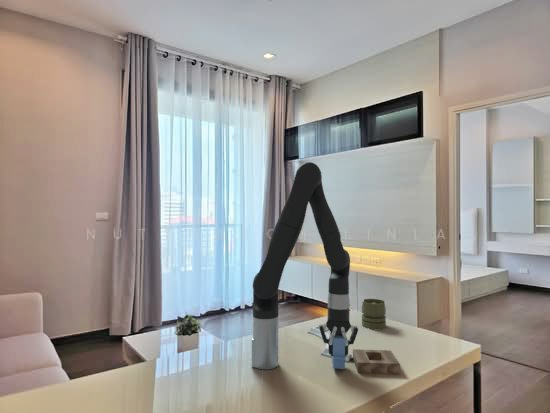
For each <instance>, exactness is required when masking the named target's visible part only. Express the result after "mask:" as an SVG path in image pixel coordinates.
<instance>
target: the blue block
mask: <svg viewBox="0 0 550 413" xmlns="http://www.w3.org/2000/svg"><path fill="white" fill-rule="evenodd" d="M332 344H333V356H332V358H331V364H332V369H340V370H342V369H343V370H345V369H346V362H345V360H346V358H345V338H343V336H339V335H338V336H335V337H333V343H332Z"/></svg>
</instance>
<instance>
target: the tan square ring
mask: <svg viewBox="0 0 550 413" xmlns="http://www.w3.org/2000/svg"><path fill="white" fill-rule="evenodd" d="M352 355H353V359H352V360H353V363H354V366H355V370H356V372H357V373H358V374H374V375H375V374H378V375H401V363H400V361H398V359H397V357H396V356H395V354H394V353H393V351H392V350H386V349H385V350H383V349H355V348H354V349H352Z"/></svg>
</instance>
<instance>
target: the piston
mask: <svg viewBox="0 0 550 413" xmlns="http://www.w3.org/2000/svg"><path fill="white" fill-rule="evenodd" d="M361 304H362V305H361V327H363V328H364V329H368V328H369V330H375V329H379V330H384V329H386V328H387V321H386V318H387V317H386V314H387V313H386V312H387V311H386V309H387V308H386V303H385V300H382V299H378V298H364V299H363V301H362V303H361Z"/></svg>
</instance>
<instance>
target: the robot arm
mask: <svg viewBox="0 0 550 413" xmlns="http://www.w3.org/2000/svg"><path fill="white" fill-rule="evenodd" d="M322 177H323V176H322V170H321V169H320V167H319V166H318V165H317V164H316V163H314V162H309V161H308V162H305V163H302V164H301V165H300V166H299V167H298V168H297V170H296V172H295V175H294V179H293V183H292V187H291V189H290V192H289V194H288V197H287V199H286V201H285V204H284V205H283V207H282V210H281V211H280V214H279V217H278V219H277V222H276V224H275V225H274V228H273V231H272V234H271V237H270V241H269V245H268V249H267V253H266V256H265V258H264V261H263V264H262V265H261V267H260V269H259V271H258V272H257V273H256V274H255V276H254V277H253V282H252V294H253V296H252V297H253V299H252V300H253V301H252V338H251V367H252V368H256V369H259V370H272V369H275V368H277V367H278V366H279V288H280V284H281V283H280V282H281V279H282V276H283V272H284V269H285V266H286V264H287V262H288V260H289V257H290V256H291V255H292V252H293V251H294V248H295V246H296V243H297V241H298V239H299V237H300V234H301V233H302V232H301V231H302V228H303V226H304V222H305V219H306V213H307V209H308V205H310V208H311V211H312V215H313V218H314V223H315V225H316V228H317V231H318V234H319V237H320V239H321V242H322V246H323V251H324V255H325V259H326V261H327V263H328V265H329V267H330V275H329V279H328V294H327V295H328V297H327V321H326V323H325V324H324V325H321V324H322V323H320V324H318V325H319V329H320V332H321V335H322V338H323V340H322V341H323V343H324V344H326V343H327V344H328V345H329V354H331V356H333V344H332V343H333V337H335V336H338V335H339V336H343V338H345V357H346V355H348V354H349V346H350V345H354V344H355V340H356V338H357V335H358V332H359V327H358V326H357V325H352V324H351V323H350V307H351V304H350V294H349V293H350V291H349V290H350V287H349V286H350V284H349V283H350V282H349V281H350V280H349V276H350V268H351V258H350V257H351V256H350V253H349V252H348V250H346V249H345V248H344V246H343V243H342V241H341V239H342V237H341V232H340V229H339V227H338V224H337V221H336V219H335V216H334V214H333V212H332V209H331V207H330V205H329V203H328V201H327V199H326V195H325V192H324V188H323V182H322V179H323V178H322ZM326 327H327V328H328V329H329V330H328V331H329V334H330V337H329V339H327V338H326V335H325V332H327V331H326ZM324 331H325V332H324ZM349 331H350V332H351V335H350V337H349V339H348V337H347V333H348V332H349Z"/></svg>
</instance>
